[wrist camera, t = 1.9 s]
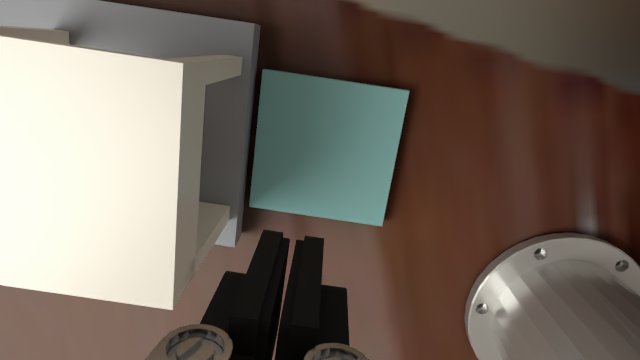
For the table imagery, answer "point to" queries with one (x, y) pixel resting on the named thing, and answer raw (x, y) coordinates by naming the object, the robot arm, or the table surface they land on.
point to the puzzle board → (172, 42)
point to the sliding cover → (103, 169)
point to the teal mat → (326, 146)
